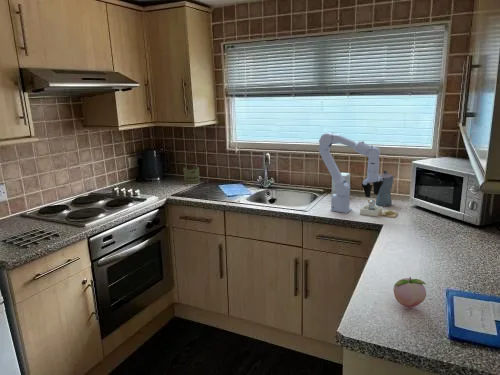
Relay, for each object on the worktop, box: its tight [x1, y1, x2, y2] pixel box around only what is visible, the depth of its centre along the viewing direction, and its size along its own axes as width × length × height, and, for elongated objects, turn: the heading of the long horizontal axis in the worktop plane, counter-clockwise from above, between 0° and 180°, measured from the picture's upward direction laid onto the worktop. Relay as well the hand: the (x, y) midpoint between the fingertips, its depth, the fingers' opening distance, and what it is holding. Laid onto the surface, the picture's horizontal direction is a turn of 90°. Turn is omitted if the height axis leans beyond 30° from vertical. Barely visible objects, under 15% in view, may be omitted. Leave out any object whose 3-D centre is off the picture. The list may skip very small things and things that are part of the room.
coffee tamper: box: [367, 199, 376, 211], centre depth 206 cm, size 4×4×6 cm
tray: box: [359, 204, 384, 218], centre depth 207 cm, size 9×9×3 cm
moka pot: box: [375, 170, 395, 208], centre depth 220 cm, size 10×15×20 cm, turn 158°
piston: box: [183, 166, 201, 185], centre depth 286 cm, size 11×12×11 cm
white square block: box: [331, 172, 351, 196], centre depth 238 cm, size 9×9×15 cm
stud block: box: [379, 210, 399, 219], centre depth 203 cm, size 7×7×2 cm
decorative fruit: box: [393, 276, 427, 309], centre depth 117 cm, size 9×8×10 cm
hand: (371, 195), depth 205 cm, fingers open, 7 cm apart
